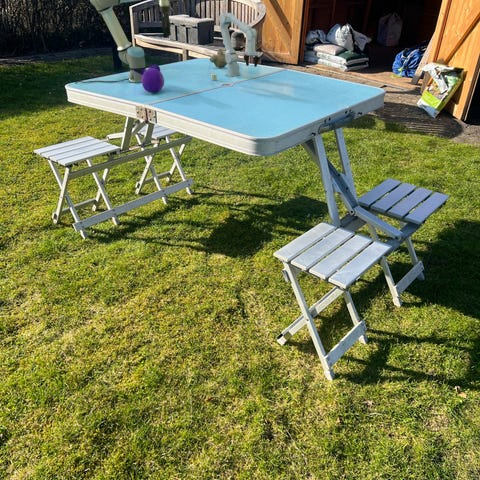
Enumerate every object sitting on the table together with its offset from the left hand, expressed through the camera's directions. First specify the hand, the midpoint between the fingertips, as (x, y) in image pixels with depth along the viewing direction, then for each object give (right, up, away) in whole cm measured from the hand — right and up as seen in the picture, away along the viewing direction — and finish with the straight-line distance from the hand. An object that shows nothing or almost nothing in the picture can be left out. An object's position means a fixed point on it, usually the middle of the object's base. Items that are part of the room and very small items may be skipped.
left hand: (167, 36), depth 352 cm
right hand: (+66, -29, -13) cm, 73 cm away
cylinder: (+38, -39, -14) cm, 56 cm away
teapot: (+41, -12, +32) cm, 54 cm away
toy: (-4, -57, -43) cm, 72 cm away
